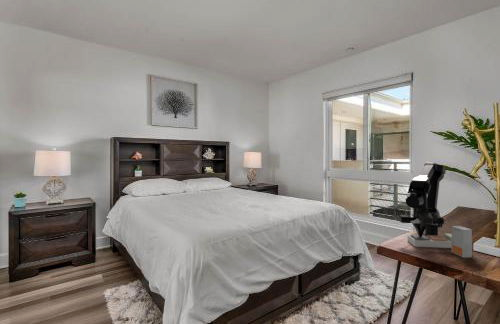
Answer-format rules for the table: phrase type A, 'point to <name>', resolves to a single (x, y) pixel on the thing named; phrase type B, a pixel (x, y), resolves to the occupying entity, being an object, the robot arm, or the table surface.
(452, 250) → the skincare box
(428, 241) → the light grey divided tray
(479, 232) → the table surface
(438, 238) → the terracotta key
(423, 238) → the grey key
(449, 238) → the sage key
